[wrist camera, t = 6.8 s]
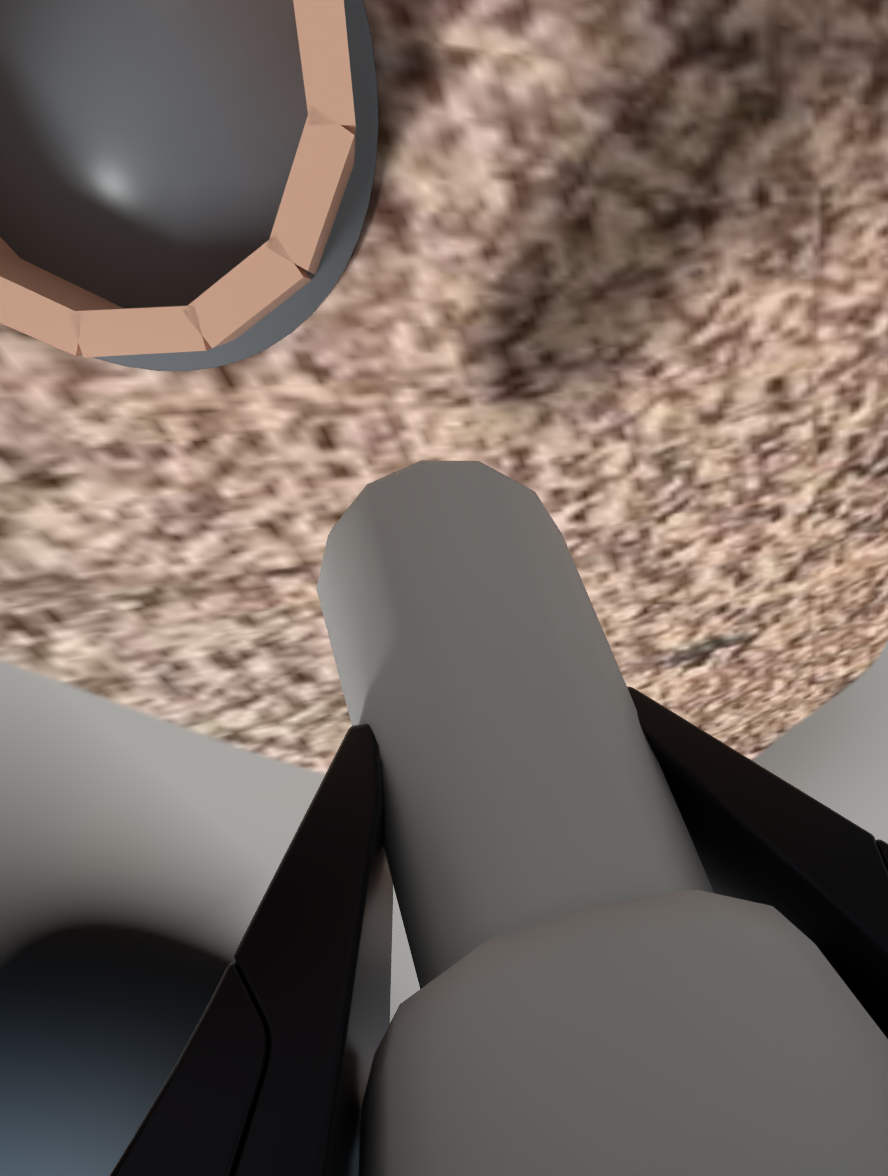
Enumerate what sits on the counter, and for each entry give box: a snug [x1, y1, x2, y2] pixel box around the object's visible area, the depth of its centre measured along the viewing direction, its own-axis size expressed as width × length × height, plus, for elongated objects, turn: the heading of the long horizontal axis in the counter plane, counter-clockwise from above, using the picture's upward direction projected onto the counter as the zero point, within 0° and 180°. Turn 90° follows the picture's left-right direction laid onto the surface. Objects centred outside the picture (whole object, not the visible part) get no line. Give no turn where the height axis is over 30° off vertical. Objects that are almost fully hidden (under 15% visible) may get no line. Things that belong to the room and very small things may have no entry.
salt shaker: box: [316, 461, 888, 1176], centre depth 8 cm, size 6×6×13 cm
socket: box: [0, 0, 378, 371], centre depth 11 cm, size 13×13×4 cm
